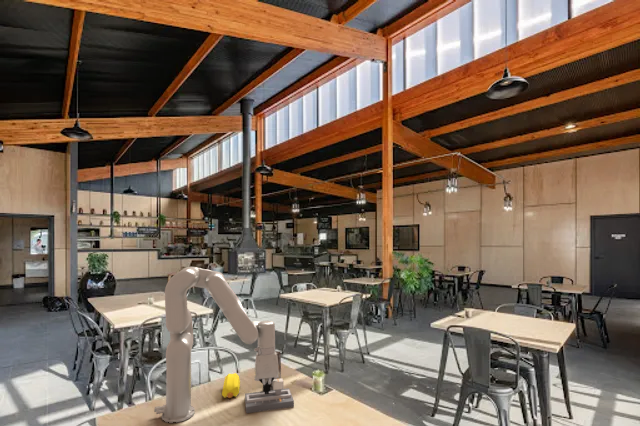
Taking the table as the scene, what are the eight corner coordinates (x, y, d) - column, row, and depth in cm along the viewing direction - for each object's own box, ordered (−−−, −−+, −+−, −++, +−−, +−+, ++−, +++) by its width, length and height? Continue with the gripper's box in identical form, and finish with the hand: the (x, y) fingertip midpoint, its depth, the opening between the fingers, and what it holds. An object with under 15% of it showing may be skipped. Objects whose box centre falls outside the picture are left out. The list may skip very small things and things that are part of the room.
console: (246, 413, 143) (246, 404, 143) (245, 399, 155) (245, 391, 156) (293, 406, 148) (293, 398, 148) (289, 393, 160) (289, 385, 160)
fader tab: (273, 397, 151) (273, 382, 151) (272, 394, 154) (272, 379, 154) (283, 396, 152) (283, 381, 152) (282, 393, 155) (282, 378, 155)
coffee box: (269, 383, 171) (268, 350, 172) (281, 384, 170) (281, 351, 171) (262, 391, 162) (262, 356, 163) (275, 392, 161) (275, 357, 162)
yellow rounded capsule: (221, 401, 154) (238, 399, 155) (221, 386, 154) (238, 384, 156) (224, 384, 171) (240, 383, 173) (224, 370, 172) (240, 369, 173)
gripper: (249, 354, 147) (249, 399, 146) (284, 351, 151) (284, 394, 150) (248, 349, 154) (248, 391, 153) (282, 345, 158) (282, 387, 157)
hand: (266, 392), depth 152 cm, fingers closed
